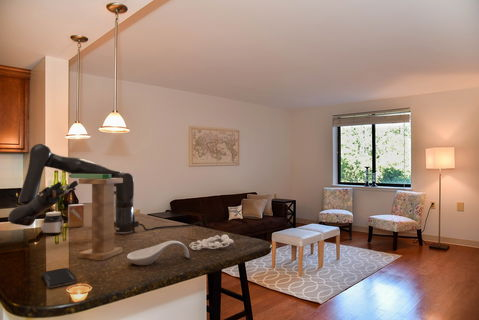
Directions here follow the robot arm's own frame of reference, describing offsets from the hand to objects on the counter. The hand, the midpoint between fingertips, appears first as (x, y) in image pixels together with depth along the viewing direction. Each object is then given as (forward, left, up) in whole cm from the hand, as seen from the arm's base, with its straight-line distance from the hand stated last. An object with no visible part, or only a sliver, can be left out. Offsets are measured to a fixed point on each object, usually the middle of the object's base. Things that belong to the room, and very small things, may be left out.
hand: (69, 183), depth 141 cm
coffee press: (-38, -51, -30) cm, 70 cm away
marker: (-6, +10, +2) cm, 12 cm away
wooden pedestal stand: (-9, +15, -30) cm, 35 cm away
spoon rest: (-23, +39, -30) cm, 54 cm away
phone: (+11, +35, -30) cm, 47 cm away
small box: (-18, -59, -30) cm, 68 cm away
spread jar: (-2, -45, -30) cm, 54 cm away
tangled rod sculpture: (-51, +37, -30) cm, 70 cm away
